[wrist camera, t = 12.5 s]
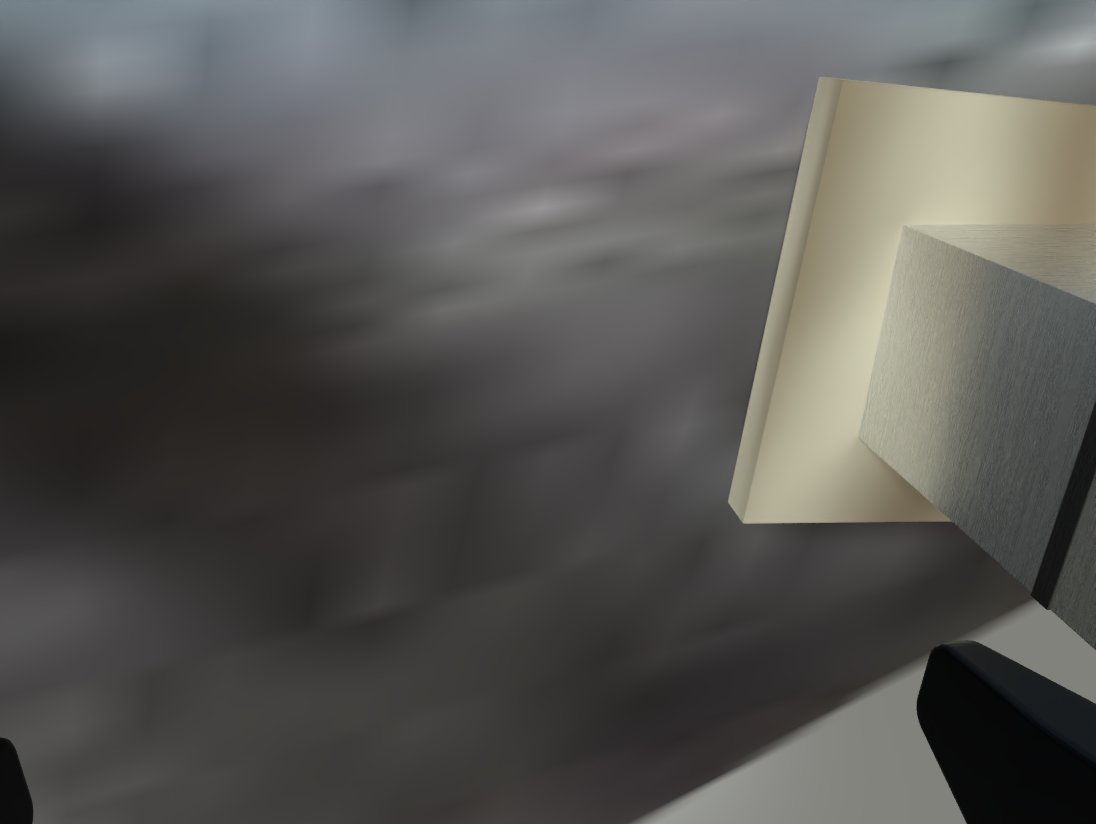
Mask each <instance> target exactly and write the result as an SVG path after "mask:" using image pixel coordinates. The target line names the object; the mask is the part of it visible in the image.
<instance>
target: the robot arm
mask: <svg viewBox="0 0 1096 824" xmlns="http://www.w3.org/2000/svg"><path fill="white" fill-rule="evenodd" d="M917 716H918V719H919V723H920V725H921V728H922V730H923V732H924V734H925V736H926V738H927V741H928V743H929V745H930V747H931V749H932V751H933V753H934V755H935V758H936V760H937V762H938V764H939V766H940V768H941V770H942V772H943V774H944V776H945V779H946V781H947V783H948V785H949V787H950V789H951V791H952V794H953V796H954V798H955V800H956V802H957V804H958V806H959V808H960V810H961V813H962V814H963V817H964V818H965V821H966V823H967V824H1096V704H1095V703H1093V702H1091V701H1089V700H1088V699H1086V698H1083V697H1082V696H1080V695H1078V694H1076V693H1074V692H1072V691H1070V690H1068V689H1066V688H1065V687H1063V686H1061V685H1059V684H1057V683H1055V682H1053V681H1051V680H1049V679H1047V678H1045V677H1044V676H1041V675H1040V674H1038V673H1036V672H1034V671H1032V670H1030V669H1028V668H1026V667H1024V666H1023V665H1021V664H1019V663H1017V662H1015V661H1013V660H1011V659H1009V658H1007V657H1005V656H1003V655H1001V654H1000V653H998V652H996V651H994V650H992V649H990V648H988V647H986V646H984V645H982V644H980V643H978V642H975V641H957V642H947V643H940V644H938V645H936V646H935V647H934V648H933V650H932V651H931V653H930V656H929V659H928V663H927V666H926V670H925V674H924V677H923V680H922V684H921V687H920V691H919V695H918V699H917ZM32 823H33V803H32V799H31V796H30V792H29V789H28V786H27V783H26V780H25V777H24V774H23V770H22V767H21V764H20V761H19V758H18V755H17V752H16V749H15V747H14V745H13V744H12V742H11V741H10V740H8V739H6V738H0V824H32Z"/></svg>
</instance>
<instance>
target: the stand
mask: <svg viewBox="0 0 1096 824" xmlns="http://www.w3.org/2000/svg"><path fill="white" fill-rule="evenodd" d="M966 224H1096V105H1088V104H1078V103H1069V102H1059V101H1049V100H1040V99H1030V98H1021V97H1011V96H1001V95H992V94H982V93H973V92H963V91H953V90H944V89H934V88H924V87H915V86H905V85H896V84H886V83H876V82H867V81H857V80H848V79H838V78H828V77H819V81H818V85H817V90H816V95H815V99H814V104H813V109H812V113H811V118H810V121H809V125H808V130H807V135H806V139H805V144H804V149H803V153H802V158H801V163H800V167H799V172H798V177H797V181H796V186H795V191H794V195H793V200H792V205H791V209H790V214H789V219H788V223H787V228H786V233H785V237H784V242H783V247H782V251H781V256H780V261H779V265H778V270H777V275H776V279H775V284H774V288H773V293H772V298H771V302H770V307H769V312H768V316H767V321H766V326H765V330H764V335H763V340H762V344H761V349H760V354H759V358H758V363H757V368H756V372H755V377H754V382H753V386H752V391H751V396H750V400H749V405H748V410H747V414H746V419H745V424H744V428H743V435H742V439H741V444H740V449H739V453H738V458H737V462H736V467H735V472H734V476H733V481H732V486H731V490H730V495H729V500H728V503H729V504H730V506H731V507H732V508H733V510H734V511H735V513H736V514H737V516H738V517H739V518H740V520H741V521H742V523H838V522H938V521H951V520H950V519H949V518H948V517H947V516H945V515H944V514H943V513H942V512H941V511H940V510H939V509H938V508H936V507H935V506H934V505H933V504H932V503H931V502H930V501H929V500H928V499H926V498H925V497H924V496H923V495H922V494H921V493H920V492H919V491H918V490H916V489H915V488H914V487H913V486H912V485H911V484H910V483H909V482H907V481H906V480H905V479H904V478H903V477H902V476H901V475H900V474H899V473H897V472H896V471H895V470H894V469H893V468H892V467H891V466H890V465H888V464H887V463H886V462H885V461H884V460H883V459H882V458H881V457H880V456H878V455H877V454H876V453H875V452H874V451H873V450H872V449H871V448H869V447H868V446H867V445H866V444H865V443H864V442H863V441H862V440H861V439H859V438H858V437H859V432H860V427H861V422H862V417H863V413H864V408H865V403H866V398H867V394H868V389H869V384H870V379H871V374H872V370H873V365H874V360H875V355H876V351H877V346H878V341H879V336H880V331H881V327H882V322H883V317H884V312H885V308H886V303H887V298H888V293H889V288H890V284H891V279H892V274H893V269H894V265H895V260H896V255H897V250H898V245H899V241H900V236H901V231H902V226H903V225H966Z"/></svg>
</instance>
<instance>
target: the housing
mask: <svg viewBox="0 0 1096 824" xmlns="http://www.w3.org/2000/svg"><path fill="white" fill-rule="evenodd" d="M858 438H859V439H861V440H862V441H863V442H864V443H865V444H866V445H867V446H868V447H869V448H871V449H872V450H873V451H874V452H875V453H876V454H877V455H878V456H880V457H881V458H882V459H883V460H884V461H885V462H886V463H887V464H888V465H890V466H891V467H892V468H893V469H894V470H895V471H896V472H897V473H899V474H900V475H901V476H902V477H903V478H904V479H905V480H906V481H907V482H909V483H910V484H911V485H912V486H913V487H914V488H915V489H916V490H918V491H919V492H920V493H921V494H922V495H923V496H924V497H925V498H926V499H928V500H929V501H930V502H931V503H932V504H933V505H934V506H935V507H936V508H938V509H939V510H940V511H941V512H942V513H943V514H944V515H945V516H947V517H948V518H949V519H950V520H951V521H952V522H953V523H954V524H955V525H957V526H958V527H959V528H960V529H961V530H962V531H963V532H964V533H966V534H967V535H968V536H969V537H970V538H971V539H972V540H973V541H974V542H976V543H977V544H978V545H979V546H980V547H981V548H982V549H983V550H984V551H986V552H987V553H988V554H989V555H990V556H991V557H992V558H993V559H995V560H996V561H997V562H998V563H999V564H1000V565H1001V566H1002V567H1003V568H1005V569H1006V570H1007V571H1008V572H1009V573H1010V574H1011V575H1012V576H1014V577H1015V578H1016V579H1017V580H1018V581H1019V582H1020V583H1021V584H1022V585H1024V586H1025V587H1026V588H1027V589H1028V590H1029V591H1030V592H1031V596H1032V597H1033V598H1034V599H1035V600H1036V601H1038V602H1039V603H1040V604H1041V605H1042V606H1043V607H1044V608H1045V609H1047V610H1051V611H1053V612H1054V613H1055V614H1056V615H1057V616H1058V617H1059V618H1060V619H1062V620H1063V621H1064V622H1065V623H1066V624H1067V625H1068V626H1069V627H1071V628H1072V629H1073V630H1074V631H1075V632H1076V633H1077V634H1078V635H1079V636H1081V637H1082V638H1083V639H1084V640H1085V641H1086V642H1087V643H1088V644H1090V645H1091V646H1092V647H1093V648H1094V649H1095V650H1096V224H966V225H903V226H902V231H901V236H900V241H899V245H898V250H897V255H896V260H895V265H894V269H893V274H892V279H891V284H890V288H889V293H888V298H887V303H886V308H885V312H884V317H883V322H882V327H881V331H880V336H879V341H878V346H877V351H876V355H875V360H874V365H873V370H872V374H871V379H870V384H869V389H868V394H867V398H866V403H865V408H864V413H863V417H862V422H861V427H860V432H859V437H858Z"/></svg>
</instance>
